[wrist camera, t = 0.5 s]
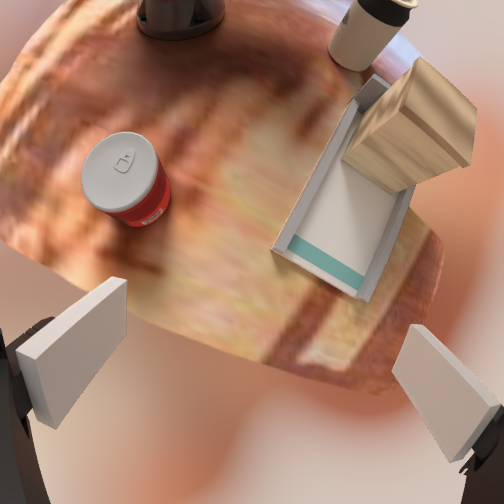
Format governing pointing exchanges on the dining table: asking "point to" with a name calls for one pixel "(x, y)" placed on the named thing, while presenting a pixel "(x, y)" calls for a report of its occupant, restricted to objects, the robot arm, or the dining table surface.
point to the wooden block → (413, 131)
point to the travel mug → (368, 31)
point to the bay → (344, 213)
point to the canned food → (126, 179)
